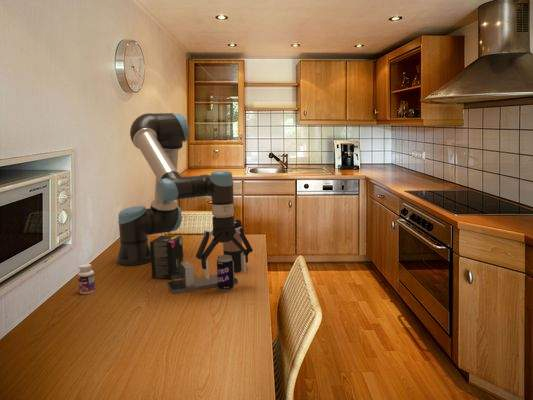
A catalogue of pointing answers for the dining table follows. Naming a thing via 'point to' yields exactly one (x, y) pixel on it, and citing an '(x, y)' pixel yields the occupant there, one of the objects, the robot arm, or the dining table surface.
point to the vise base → (196, 283)
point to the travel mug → (234, 248)
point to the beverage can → (225, 272)
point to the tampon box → (166, 256)
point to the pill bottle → (86, 279)
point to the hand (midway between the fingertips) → (225, 274)
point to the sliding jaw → (185, 274)
